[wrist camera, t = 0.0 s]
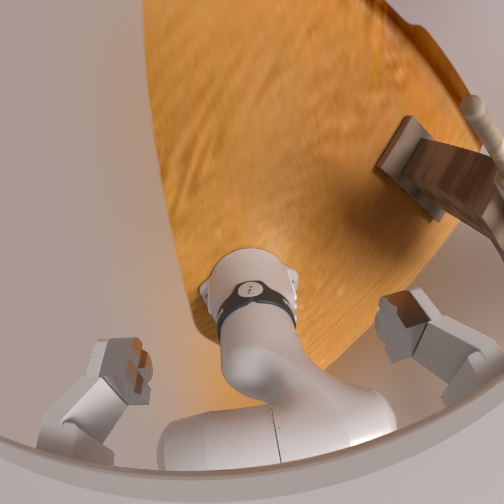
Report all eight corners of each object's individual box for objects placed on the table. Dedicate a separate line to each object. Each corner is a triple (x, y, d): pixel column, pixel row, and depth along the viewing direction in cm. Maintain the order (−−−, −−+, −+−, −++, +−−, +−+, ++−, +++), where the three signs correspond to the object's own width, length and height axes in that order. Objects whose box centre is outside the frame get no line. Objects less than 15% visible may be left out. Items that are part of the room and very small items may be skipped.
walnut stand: (375, 165, 46) (481, 216, 23) (406, 115, 42) (519, 136, 18) (433, 219, 52) (518, 280, 29) (459, 176, 48) (549, 221, 25)
